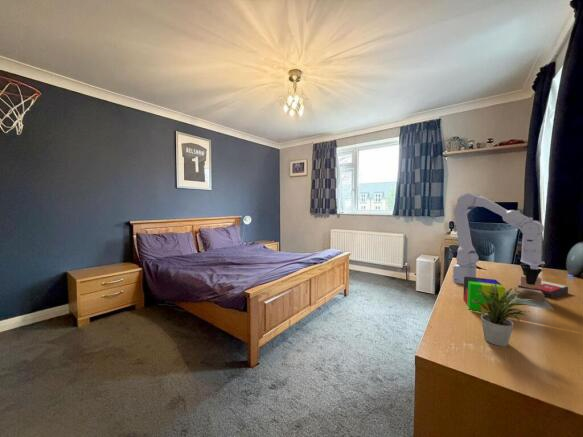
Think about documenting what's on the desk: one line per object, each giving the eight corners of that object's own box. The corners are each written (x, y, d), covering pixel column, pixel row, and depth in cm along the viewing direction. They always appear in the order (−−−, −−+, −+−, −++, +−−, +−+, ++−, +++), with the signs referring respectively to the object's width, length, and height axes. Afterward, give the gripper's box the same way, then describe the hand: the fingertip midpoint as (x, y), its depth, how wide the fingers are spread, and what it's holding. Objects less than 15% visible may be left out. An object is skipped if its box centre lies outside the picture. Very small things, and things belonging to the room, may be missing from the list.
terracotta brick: (520, 286, 100) (520, 276, 100) (518, 283, 104) (519, 274, 103) (540, 289, 97) (541, 279, 97) (538, 286, 100) (539, 276, 100)
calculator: (517, 283, 108) (535, 278, 114) (517, 293, 109) (534, 286, 115) (551, 291, 98) (568, 285, 104) (551, 302, 99) (568, 294, 105)
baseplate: (484, 298, 100) (484, 297, 100) (482, 288, 113) (482, 287, 112) (554, 311, 88) (554, 310, 88) (543, 297, 101) (543, 296, 101)
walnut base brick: (516, 296, 100) (517, 291, 100) (514, 292, 105) (514, 287, 105) (544, 301, 96) (544, 295, 96) (540, 296, 100) (540, 290, 100)
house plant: (512, 364, 58) (515, 298, 58) (454, 336, 71) (456, 281, 70) (541, 350, 64) (545, 290, 63) (483, 326, 77) (485, 276, 76)
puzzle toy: (494, 304, 94) (495, 279, 93) (503, 315, 85) (505, 287, 84) (463, 300, 98) (464, 276, 97) (469, 310, 89) (470, 283, 88)
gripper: (550, 254, 91) (548, 289, 92) (540, 248, 103) (539, 280, 104) (524, 252, 95) (522, 286, 96) (518, 247, 107) (516, 277, 108)
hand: (529, 282), depth 100 cm, fingers closed on terracotta brick, 4 cm apart
